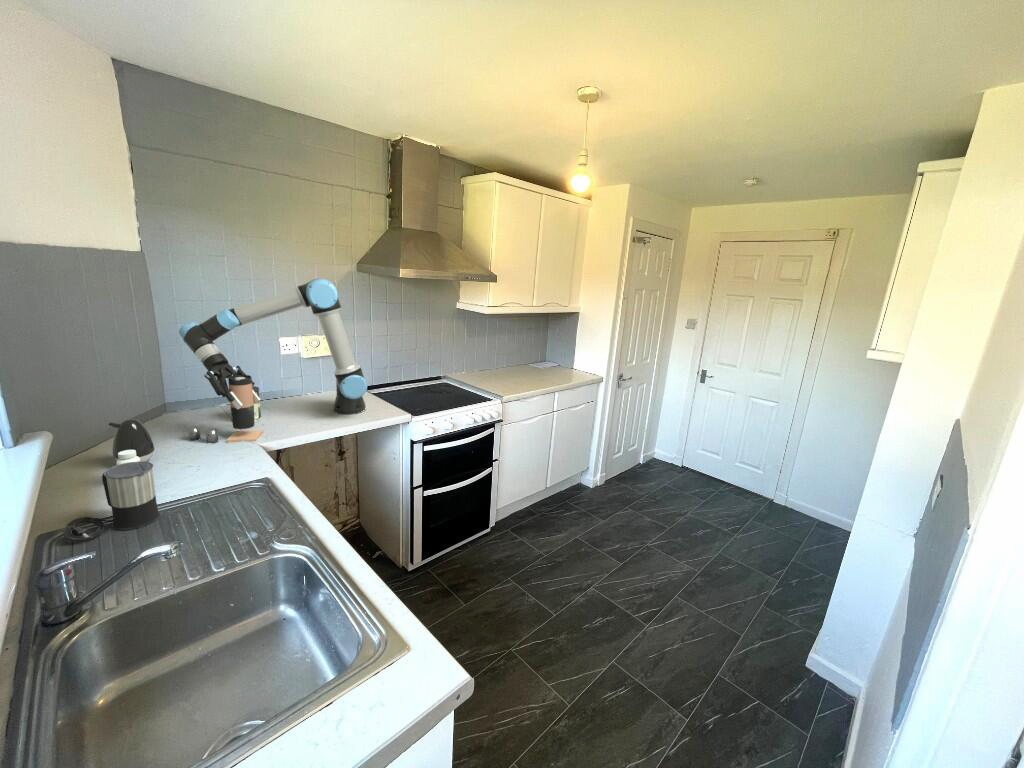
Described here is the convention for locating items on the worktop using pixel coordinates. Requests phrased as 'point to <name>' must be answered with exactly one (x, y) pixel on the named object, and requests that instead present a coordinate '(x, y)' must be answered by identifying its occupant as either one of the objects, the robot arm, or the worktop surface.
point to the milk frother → (122, 501)
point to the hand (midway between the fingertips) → (249, 404)
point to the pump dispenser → (132, 439)
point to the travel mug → (242, 401)
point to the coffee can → (257, 406)
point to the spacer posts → (210, 434)
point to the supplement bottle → (127, 457)
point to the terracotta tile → (245, 436)
